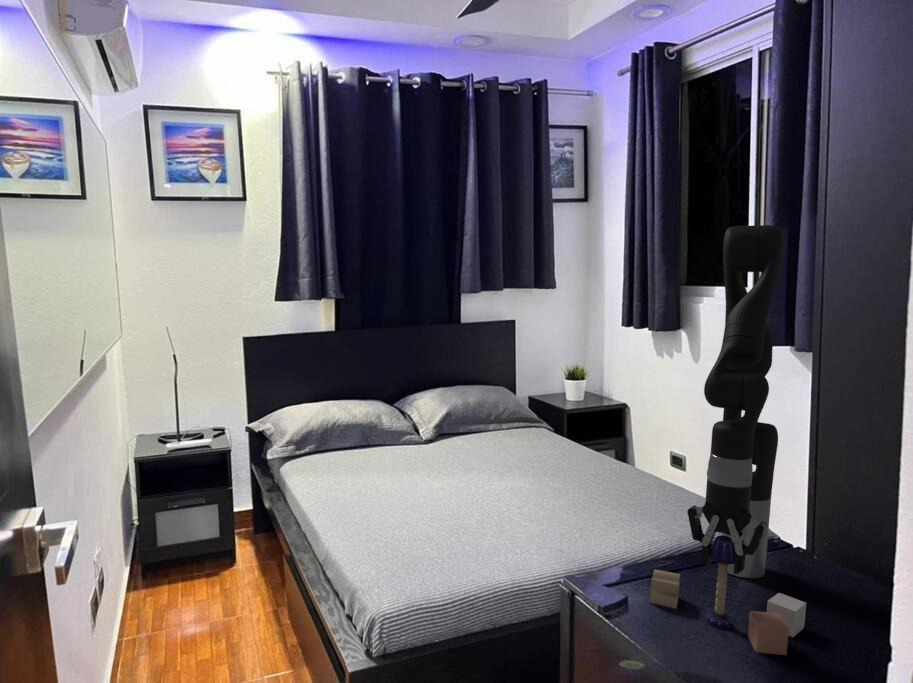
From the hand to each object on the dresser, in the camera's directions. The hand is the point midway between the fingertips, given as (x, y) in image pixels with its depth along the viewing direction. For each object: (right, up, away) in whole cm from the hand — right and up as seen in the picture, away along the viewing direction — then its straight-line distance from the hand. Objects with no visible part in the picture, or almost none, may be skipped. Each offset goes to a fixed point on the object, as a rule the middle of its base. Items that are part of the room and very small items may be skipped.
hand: (722, 568), depth 126 cm
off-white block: (+12, -11, +1) cm, 16 cm away
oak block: (-8, -10, +9) cm, 16 cm away
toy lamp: (0, -11, +1) cm, 11 cm away
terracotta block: (+6, -12, -6) cm, 14 cm away
